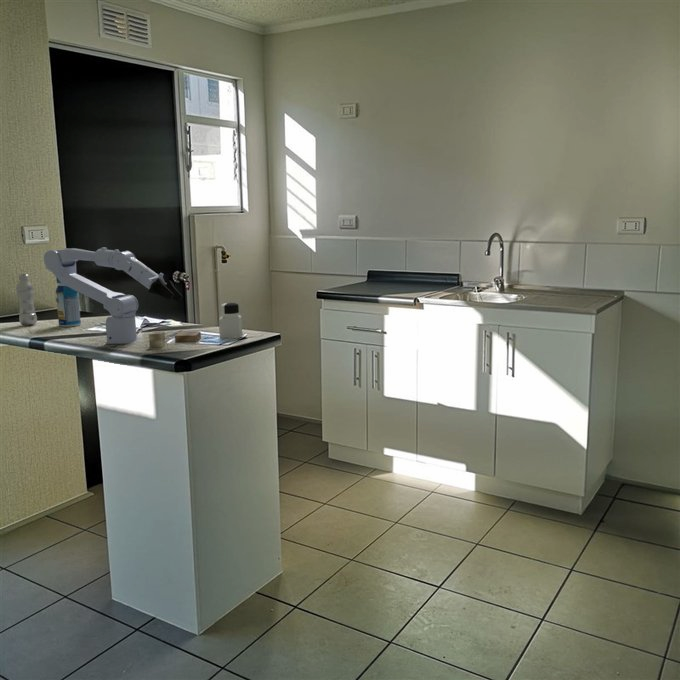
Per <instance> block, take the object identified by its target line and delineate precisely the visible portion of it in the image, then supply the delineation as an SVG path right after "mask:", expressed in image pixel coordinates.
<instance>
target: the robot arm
mask: <svg viewBox="0 0 680 680" xmlns="http://www.w3.org/2000/svg"><path fill="white" fill-rule="evenodd" d="M78 261H87V262H94V263H95V264H96V266H99V267H106V268H114V269H115V270H117V271H123V272H124V273H125V274H127V275H129V276H130V277H132V278H133V279H134V280H136V281H137V282H138V283H140V284H141V285H143V286H144V287H145V288H147V289H148V293H150V294H154V295H159V296H160V297H162V298H164V299H167V300H169V301H172V299H173V300H175V301H177V302H181V301H182V299H183V295H182V294H181V292H180V291H179V290H178V289H177V288H176V287H175V284H174V282H172V281H171V280H168V281H167V282H165V280H164V276H165V275H164V273H162V272H160V273H159V274H158V273H156V272H155V271H154V270H152V269H151V268H150V267H148V266H147V265H145V263H143V262H142V261H140V260H138V259H137V258H136V255H135V253H133V252H132V251H129V250H124V251H120V250H119V249H114V250H113V249H108V247H103V246H102V247H101V248H98V249H97V250H96V251H91V250H86V249H82V248H74V247H72V248H68V247H66V248H63V249H62V248H61V249H49V250H47V251H46V252H45V253H44V255H43V262H44V266H45V269H47V270H48V271H50V272H51V273H52V274H53V275H54V276H55V278H56V277H57V278H58V280H59V281H60V282H61V283H62V284H64V285H66V286H68V287H70V288H72V289H74V290H76V291H78V293H80V294H82V295H84V296H86V297H88V298H90V299H91V300H94V301H96V302H98V303H100V304H102V305H103V309H104V310H106V311H108V312H109V314H110V315H111V316H108V317H107V318H106V319H105V331H106V344H107V345H108V344H109V345H110V344H112V345H113V344H114V345H115V344H118V345H119V344H124V345H125V344H129V343H130V344H131V343H136V342H137V341H139V340H140V339H141V337H138V336H137V325H136V311H138V309H139V301H138V299H137V297H136V296H134V295H132V294H125V293H123V292H116V291H113V290H110V289H109V288H106V287H104V286H102V285H100V284H98V283H97V282H94V281H92V280H91V279H88V278H86V277H85V276H82V275H80V274H78V273H77V262H78Z"/></svg>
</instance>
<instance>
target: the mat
mask: <svg viewBox="0 0 680 680" xmlns="http://www.w3.org/2000/svg"><path fill="white" fill-rule="evenodd" d="M204 339H206V336H201V339H200V340H198V341H197V342H196V343H175V338H174V339H172V340H171V341H170V342H168V343H167V345H199V344H200V342H202V341H203V340H204Z"/></svg>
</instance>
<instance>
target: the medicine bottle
mask: <svg viewBox="0 0 680 680" xmlns="http://www.w3.org/2000/svg"><path fill="white" fill-rule="evenodd" d="M239 307H240V306H239V304H238V303H236V302H225V303H222V304H221V305H220V311H221V312H220V315H221V316H220V318H219V319H218V328H219V329H218V331H219V338H224V339H226V338H229V339H230V338H241V337H242V335H243V321H242V319H243V318H242V315H240V308H239Z"/></svg>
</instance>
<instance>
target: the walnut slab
mask: <svg viewBox="0 0 680 680" xmlns="http://www.w3.org/2000/svg"><path fill="white" fill-rule="evenodd" d="M201 332H202V331H179V332H178V333H176V334H175V335H174V339H175V343H196V342H197V341H198V340H200V339H201V337H202V334H201Z"/></svg>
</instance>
